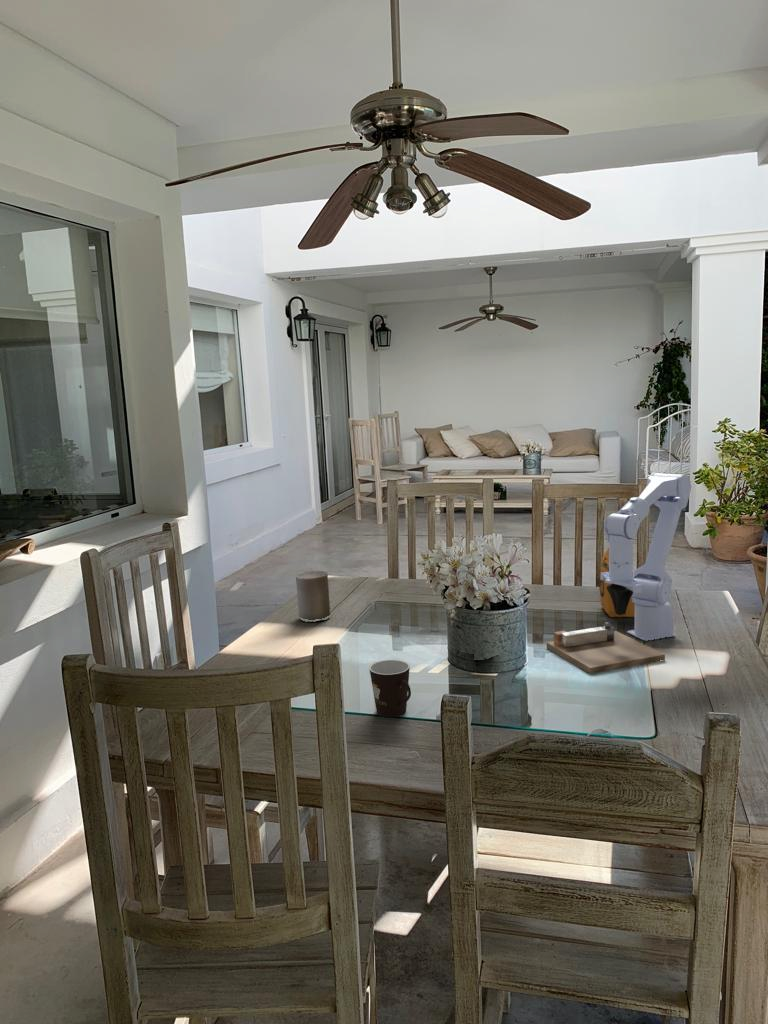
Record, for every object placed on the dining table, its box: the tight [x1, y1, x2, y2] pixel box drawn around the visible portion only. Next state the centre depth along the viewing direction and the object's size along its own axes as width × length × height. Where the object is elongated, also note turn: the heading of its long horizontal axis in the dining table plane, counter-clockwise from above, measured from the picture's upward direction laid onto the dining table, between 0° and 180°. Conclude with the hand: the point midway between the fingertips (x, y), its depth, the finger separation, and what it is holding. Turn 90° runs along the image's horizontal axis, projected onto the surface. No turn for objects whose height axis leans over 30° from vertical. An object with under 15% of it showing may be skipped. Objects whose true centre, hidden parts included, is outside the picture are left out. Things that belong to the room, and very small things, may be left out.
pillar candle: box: [295, 570, 331, 620], centre depth 237 cm, size 10×10×15 cm
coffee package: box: [598, 547, 635, 618], centre depth 229 cm, size 10×12×22 cm
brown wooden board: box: [546, 630, 666, 675], centre depth 197 cm, size 21×20×4 cm
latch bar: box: [561, 621, 615, 647], centre depth 201 cm, size 15×3×4 cm, turn 108°
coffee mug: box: [368, 659, 412, 719], centre depth 167 cm, size 12×9×10 cm
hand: (620, 613), depth 199 cm, fingers closed
